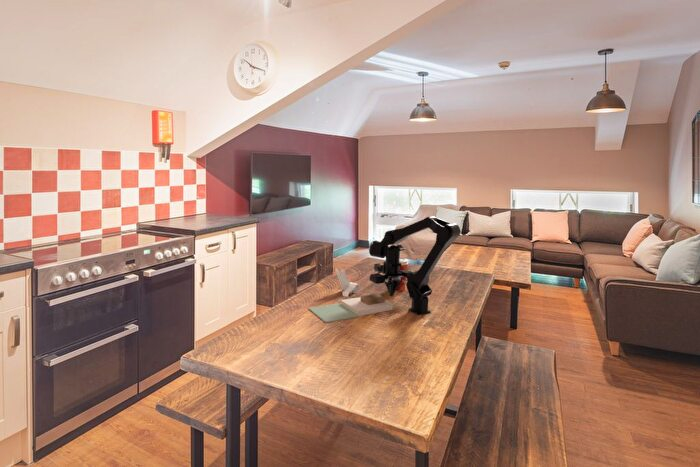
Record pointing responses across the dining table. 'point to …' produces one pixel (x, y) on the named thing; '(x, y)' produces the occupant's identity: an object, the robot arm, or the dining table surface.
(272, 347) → the dining table surface
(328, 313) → the mat
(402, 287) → the paper cup
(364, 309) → the deck
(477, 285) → the dining table surface
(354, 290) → the plastic part
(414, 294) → the robot arm
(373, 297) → the walnut tile
